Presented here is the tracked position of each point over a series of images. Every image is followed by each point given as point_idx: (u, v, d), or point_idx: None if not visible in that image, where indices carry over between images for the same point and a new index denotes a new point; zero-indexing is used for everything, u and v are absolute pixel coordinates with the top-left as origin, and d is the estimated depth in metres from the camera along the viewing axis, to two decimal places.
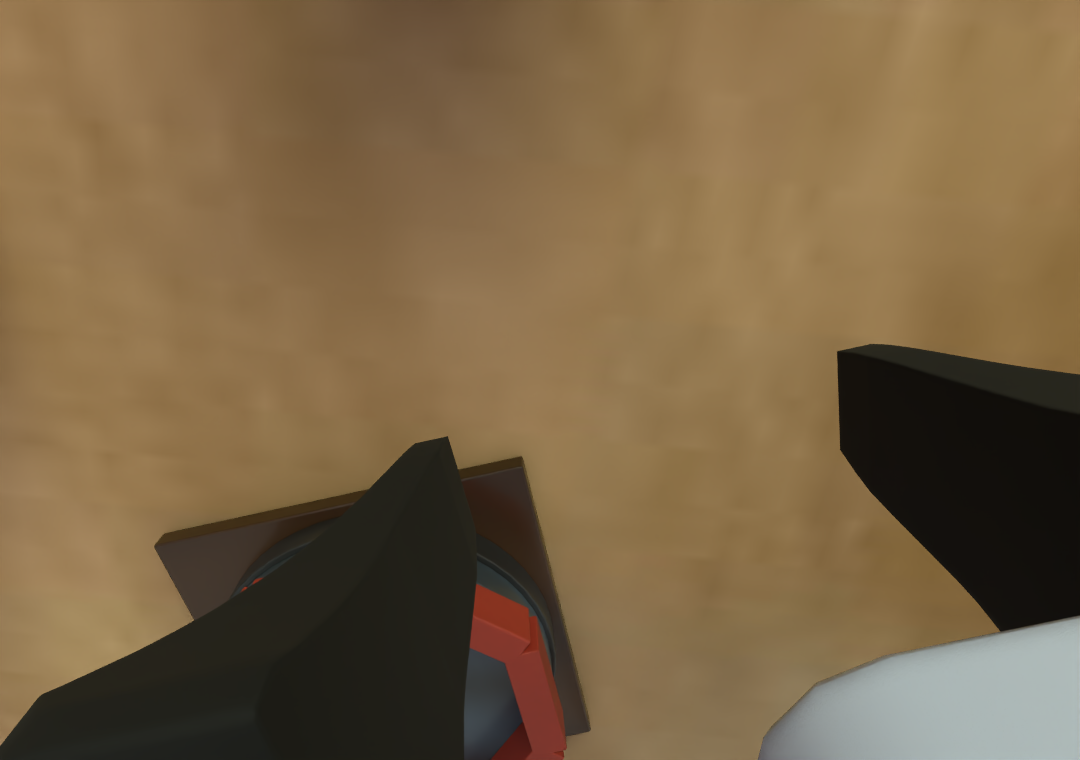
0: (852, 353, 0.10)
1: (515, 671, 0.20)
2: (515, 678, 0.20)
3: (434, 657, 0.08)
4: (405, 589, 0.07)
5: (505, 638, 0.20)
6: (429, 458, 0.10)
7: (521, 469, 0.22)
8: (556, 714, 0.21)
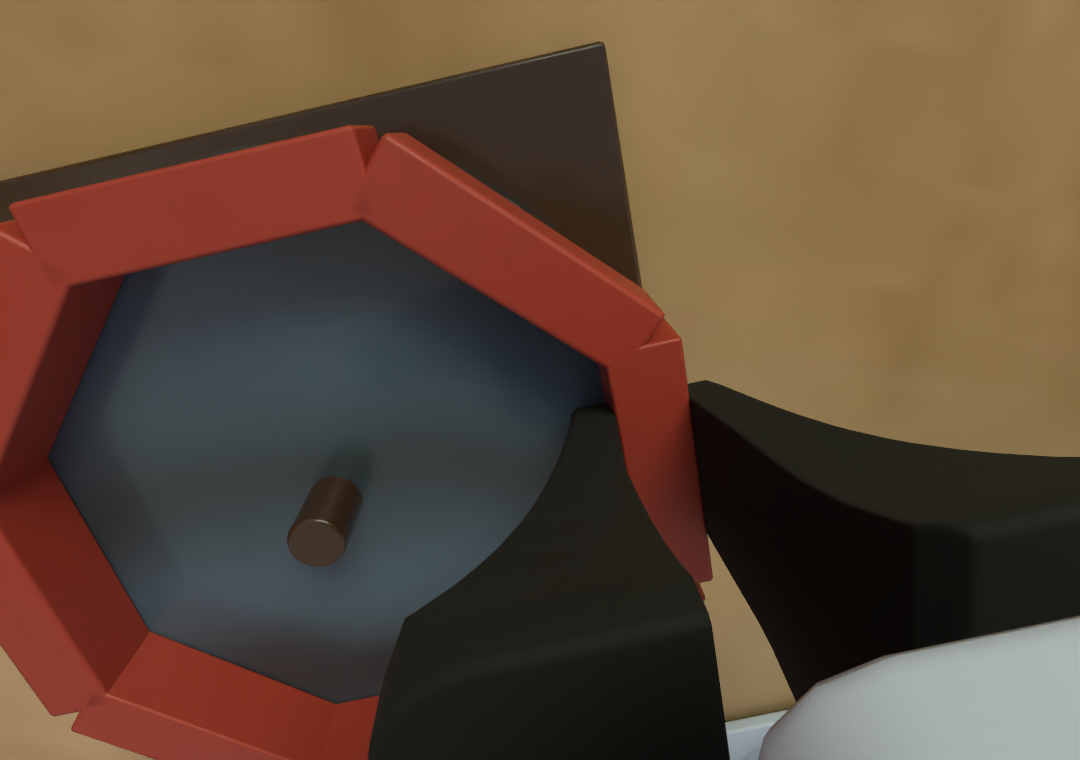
0: None
1: (628, 389, 0.10)
2: (627, 407, 0.10)
3: None
4: None
5: (613, 300, 0.09)
6: (611, 418, 0.10)
7: (601, 48, 0.12)
8: None
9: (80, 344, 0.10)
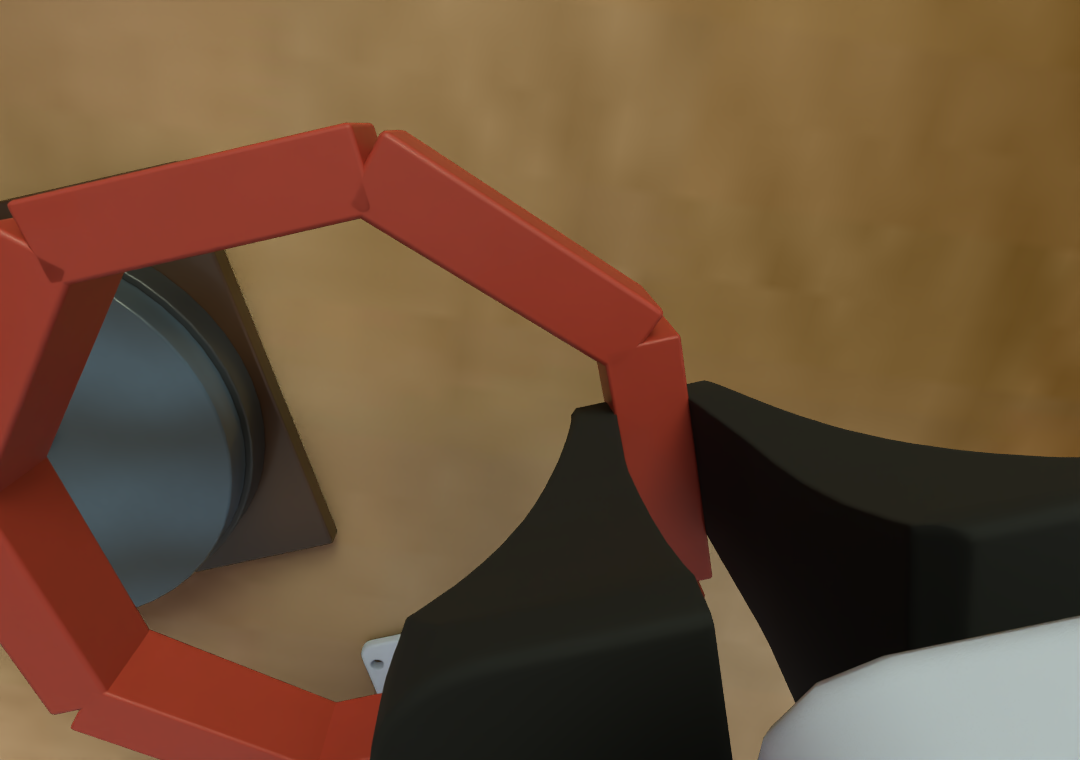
0: None
1: (627, 387, 0.10)
2: (625, 405, 0.10)
3: None
4: None
5: (612, 298, 0.09)
6: (613, 418, 0.10)
7: None
8: None
9: (79, 342, 0.10)
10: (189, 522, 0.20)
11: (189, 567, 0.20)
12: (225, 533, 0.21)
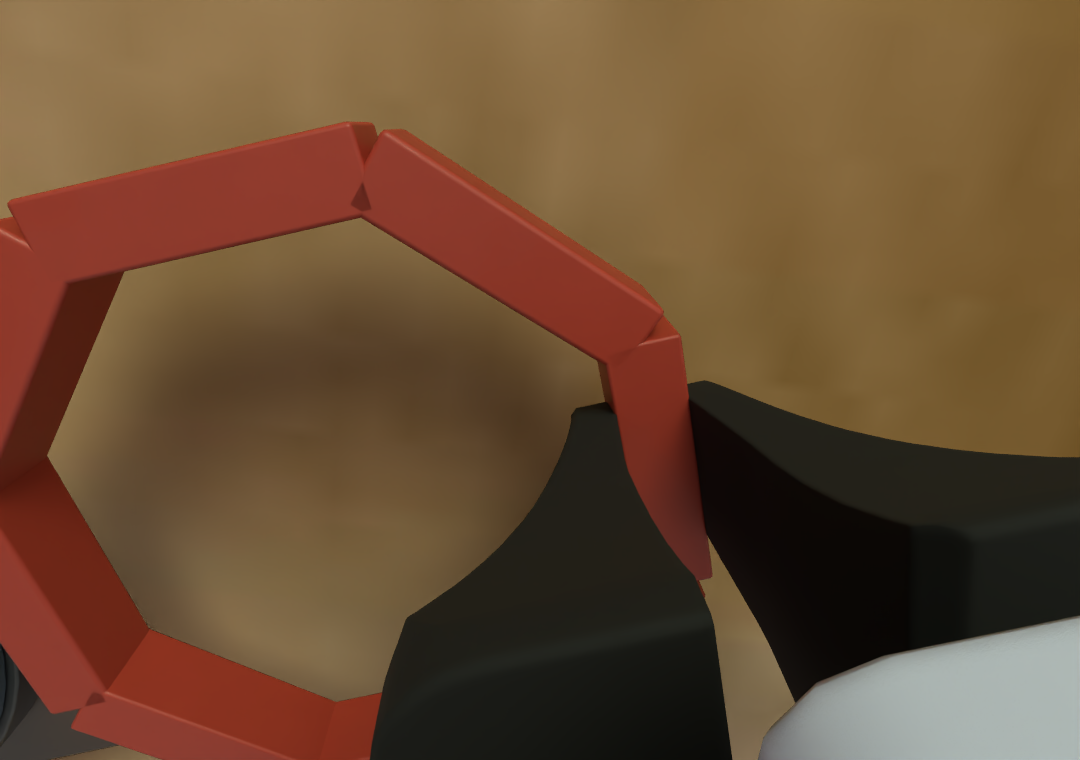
0: None
1: (627, 386, 0.10)
2: (626, 404, 0.10)
3: None
4: None
5: (612, 297, 0.09)
6: (613, 418, 0.10)
7: None
8: (701, 497, 0.11)
9: (78, 342, 0.10)
10: None
11: None
12: None
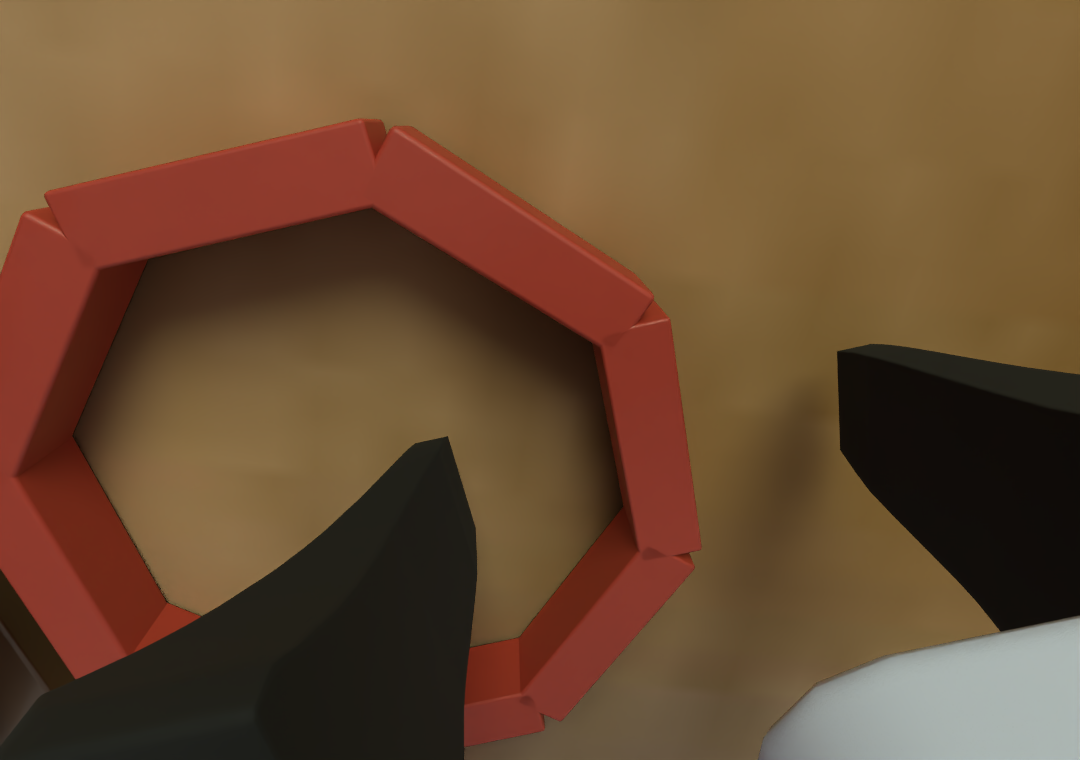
0: (852, 353, 0.10)
1: (620, 367, 0.10)
2: (619, 384, 0.10)
3: (434, 657, 0.08)
4: (405, 589, 0.07)
5: (606, 283, 0.10)
6: (428, 458, 0.10)
7: None
8: (690, 472, 0.11)
9: (106, 326, 0.11)
10: None
11: None
12: None
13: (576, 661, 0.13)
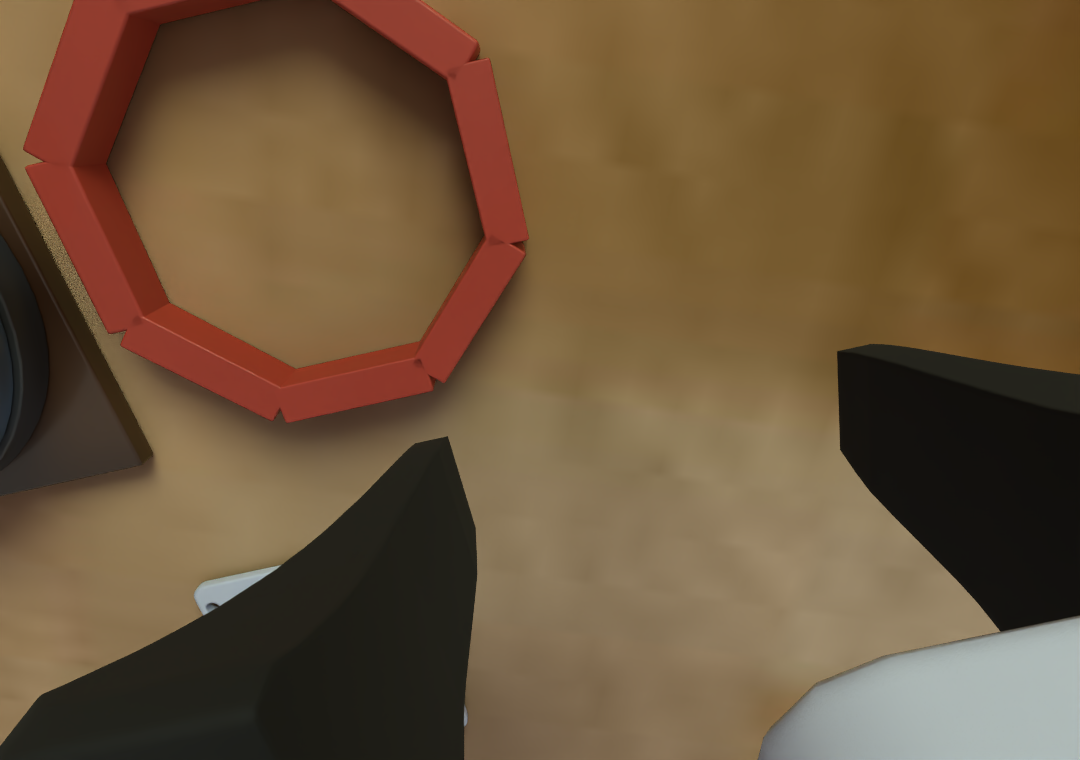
0: (852, 353, 0.10)
1: (460, 93, 0.16)
2: (461, 106, 0.16)
3: (434, 657, 0.08)
4: (405, 589, 0.07)
5: (445, 30, 0.16)
6: (429, 458, 0.10)
7: None
8: (514, 176, 0.17)
9: (130, 70, 0.16)
10: None
11: None
12: (1, 446, 0.19)
13: (450, 329, 0.19)
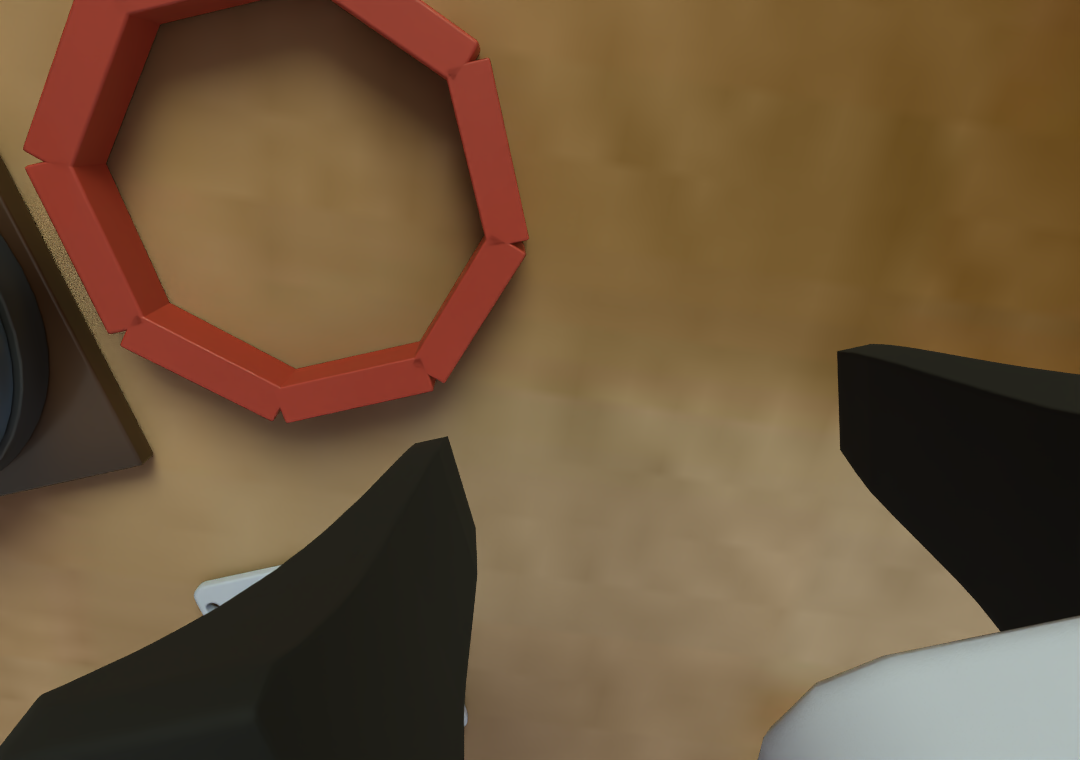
0: (852, 353, 0.10)
1: (460, 93, 0.16)
2: (461, 106, 0.16)
3: (434, 657, 0.08)
4: (405, 589, 0.07)
5: (445, 30, 0.16)
6: (429, 458, 0.10)
7: None
8: (514, 176, 0.17)
9: (130, 70, 0.16)
10: None
11: None
12: (1, 446, 0.19)
13: (450, 329, 0.19)
